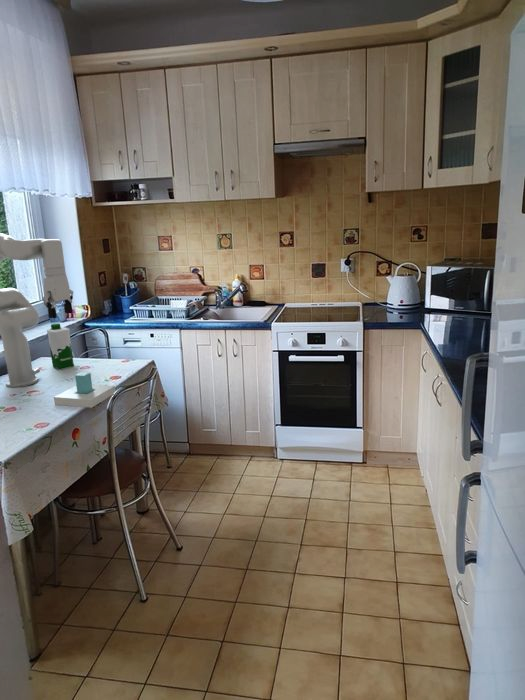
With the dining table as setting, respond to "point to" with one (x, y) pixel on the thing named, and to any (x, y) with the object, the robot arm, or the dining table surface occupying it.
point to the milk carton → (60, 346)
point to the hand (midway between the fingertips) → (61, 315)
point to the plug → (84, 383)
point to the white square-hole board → (84, 396)
